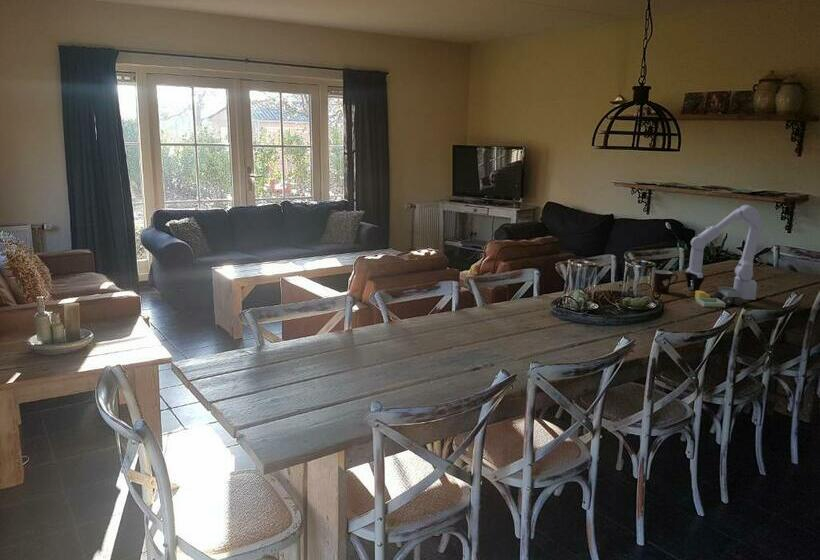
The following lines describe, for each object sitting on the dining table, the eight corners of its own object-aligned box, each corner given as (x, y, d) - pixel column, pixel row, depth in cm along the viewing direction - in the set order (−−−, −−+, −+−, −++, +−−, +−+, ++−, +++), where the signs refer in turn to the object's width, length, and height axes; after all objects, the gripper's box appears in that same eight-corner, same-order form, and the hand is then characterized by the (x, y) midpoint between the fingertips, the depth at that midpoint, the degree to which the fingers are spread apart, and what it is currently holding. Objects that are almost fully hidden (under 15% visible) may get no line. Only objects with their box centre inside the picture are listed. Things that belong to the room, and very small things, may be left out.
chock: (705, 298, 312) (706, 290, 311) (709, 301, 307) (710, 293, 306) (694, 298, 312) (695, 290, 311) (698, 301, 307) (699, 293, 306)
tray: (716, 302, 305) (717, 298, 304) (725, 307, 295) (725, 303, 295) (695, 301, 305) (696, 297, 305) (703, 307, 296) (704, 302, 295)
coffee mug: (652, 293, 321) (654, 273, 319) (651, 289, 329) (653, 269, 327) (677, 295, 318) (679, 274, 316) (676, 291, 326) (678, 271, 324)
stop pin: (694, 294, 320) (695, 280, 319) (696, 295, 317) (698, 281, 316) (688, 293, 320) (689, 280, 319) (690, 295, 317) (692, 281, 316)
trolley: (731, 299, 310) (733, 286, 309) (743, 306, 299) (745, 292, 297) (712, 299, 311) (714, 286, 309) (723, 305, 299) (725, 292, 298)
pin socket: (697, 293, 322) (697, 289, 322) (702, 296, 315) (703, 292, 315) (682, 292, 322) (683, 288, 322) (687, 296, 316) (688, 292, 315)
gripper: (682, 258, 322) (679, 285, 325) (693, 264, 308) (690, 292, 311) (696, 259, 322) (693, 285, 325) (708, 264, 308) (705, 292, 311)
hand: (692, 289), depth 318 cm, fingers open, 7 cm apart
